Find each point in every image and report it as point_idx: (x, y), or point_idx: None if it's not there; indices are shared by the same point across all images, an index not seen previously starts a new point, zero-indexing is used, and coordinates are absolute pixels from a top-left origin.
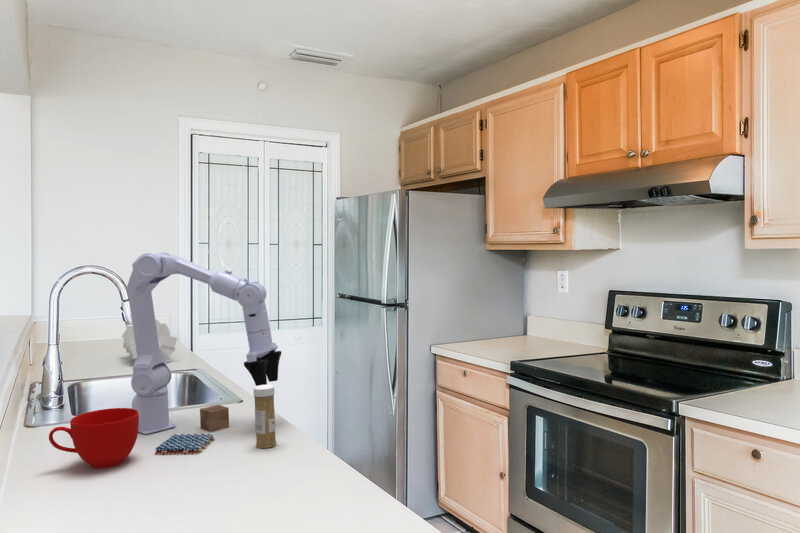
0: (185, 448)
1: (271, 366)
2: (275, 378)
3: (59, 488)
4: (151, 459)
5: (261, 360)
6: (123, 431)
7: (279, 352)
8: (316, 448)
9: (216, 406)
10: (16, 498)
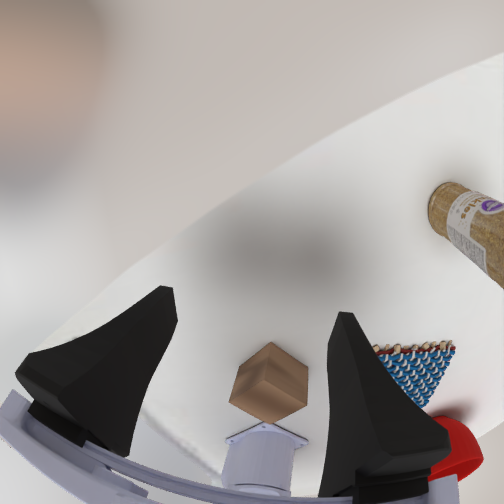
0: (445, 369)
1: (134, 364)
2: (167, 300)
3: (484, 419)
4: (443, 393)
5: (381, 474)
6: (475, 444)
7: (49, 388)
8: (470, 75)
9: (248, 402)
10: (485, 430)
